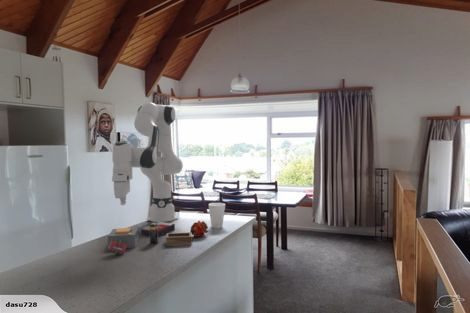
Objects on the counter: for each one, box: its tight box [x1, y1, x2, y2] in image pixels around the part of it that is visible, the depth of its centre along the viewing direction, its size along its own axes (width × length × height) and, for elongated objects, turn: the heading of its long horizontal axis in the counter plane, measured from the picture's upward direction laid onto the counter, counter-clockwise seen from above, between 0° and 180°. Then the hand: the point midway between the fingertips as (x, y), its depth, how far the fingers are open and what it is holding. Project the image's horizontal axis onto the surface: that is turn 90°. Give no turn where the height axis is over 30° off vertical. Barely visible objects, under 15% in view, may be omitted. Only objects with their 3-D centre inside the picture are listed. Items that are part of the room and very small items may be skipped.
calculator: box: [141, 222, 176, 238], centre depth 186 cm, size 11×4×15 cm
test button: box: [116, 227, 131, 234], centre depth 164 cm, size 6×6×3 cm
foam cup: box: [208, 202, 226, 229], centre depth 196 cm, size 10×9×13 cm
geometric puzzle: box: [108, 239, 128, 257], centre depth 150 cm, size 7×7×8 cm
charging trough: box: [165, 232, 193, 247], centre depth 166 cm, size 8×12×4 cm, turn 98°
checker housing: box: [107, 227, 139, 250], centre depth 164 cm, size 12×12×6 cm
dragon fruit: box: [190, 220, 209, 238], centre depth 177 cm, size 8×8×12 cm
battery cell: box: [148, 222, 159, 245], centre depth 166 cm, size 4×4×10 cm
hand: (123, 204), depth 163 cm, fingers closed
